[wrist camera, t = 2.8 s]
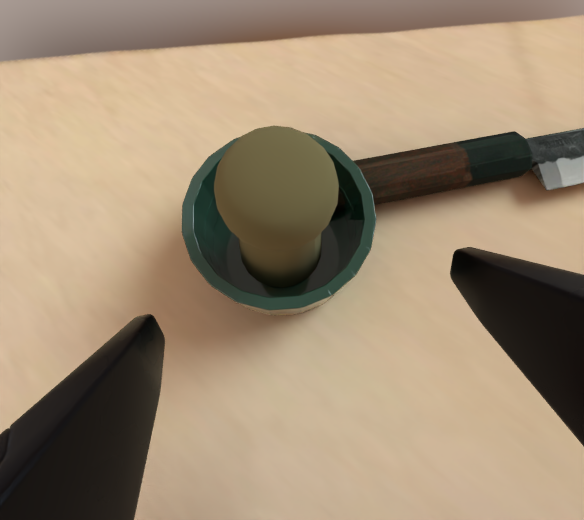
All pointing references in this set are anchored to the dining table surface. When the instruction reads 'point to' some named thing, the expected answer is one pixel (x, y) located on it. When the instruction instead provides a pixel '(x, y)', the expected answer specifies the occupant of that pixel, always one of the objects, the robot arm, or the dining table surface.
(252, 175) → the olive pestle
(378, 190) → the kitchen knife
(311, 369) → the dining table surface
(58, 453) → the robot arm
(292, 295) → the pot
